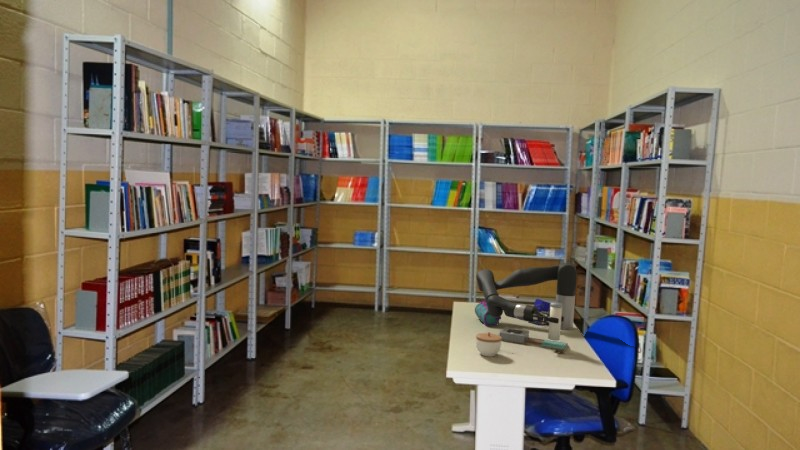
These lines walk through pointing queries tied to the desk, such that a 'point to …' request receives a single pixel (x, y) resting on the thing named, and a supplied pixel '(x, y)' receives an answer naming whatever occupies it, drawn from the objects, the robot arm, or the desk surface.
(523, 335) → the grey square socket
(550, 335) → the capped cream cylinder
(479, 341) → the lidded jar
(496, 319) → the pencil case
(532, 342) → the base board
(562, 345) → the mat
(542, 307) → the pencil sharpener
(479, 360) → the desk surface
